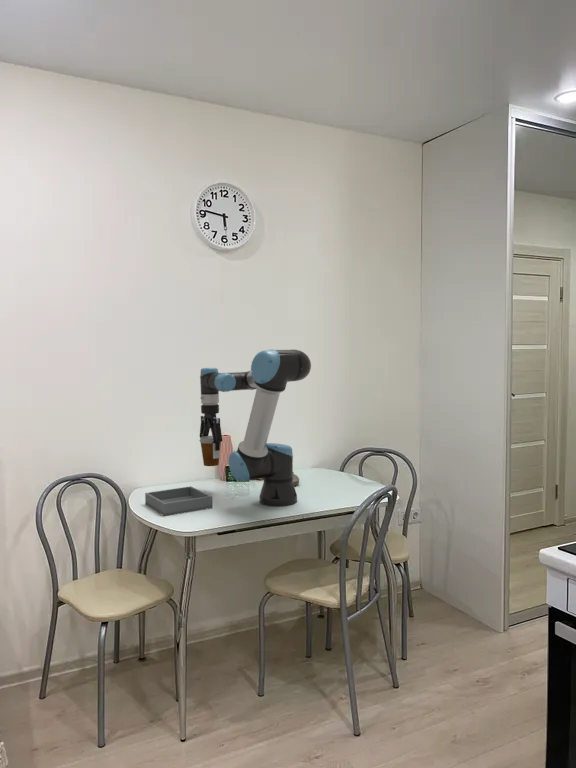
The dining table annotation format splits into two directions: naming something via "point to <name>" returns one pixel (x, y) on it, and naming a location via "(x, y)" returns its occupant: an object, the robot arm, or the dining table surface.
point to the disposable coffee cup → (208, 451)
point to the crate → (178, 500)
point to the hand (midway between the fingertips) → (211, 456)
